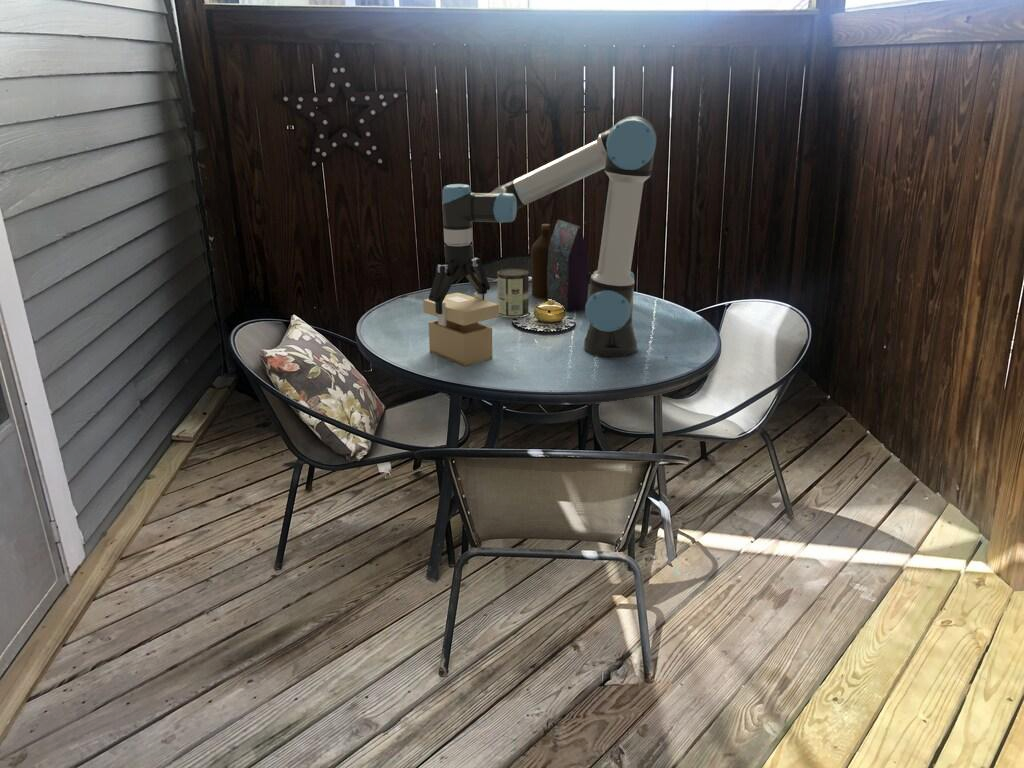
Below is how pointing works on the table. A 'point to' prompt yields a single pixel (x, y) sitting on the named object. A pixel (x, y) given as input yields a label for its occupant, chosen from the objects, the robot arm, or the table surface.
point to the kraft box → (461, 342)
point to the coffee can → (513, 292)
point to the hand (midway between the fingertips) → (461, 320)
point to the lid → (464, 309)
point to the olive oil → (540, 262)
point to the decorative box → (568, 267)
